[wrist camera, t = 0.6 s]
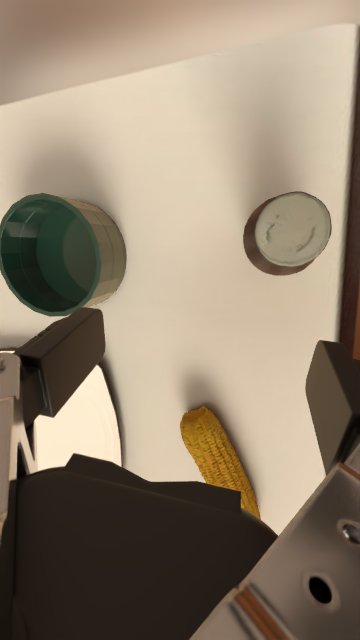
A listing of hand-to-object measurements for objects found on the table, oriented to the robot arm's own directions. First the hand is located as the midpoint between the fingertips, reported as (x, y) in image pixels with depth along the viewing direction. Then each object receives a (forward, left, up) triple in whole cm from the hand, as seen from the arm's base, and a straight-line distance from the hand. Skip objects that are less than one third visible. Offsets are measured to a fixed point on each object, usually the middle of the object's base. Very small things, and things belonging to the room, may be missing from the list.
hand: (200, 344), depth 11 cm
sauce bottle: (-5, +3, -27) cm, 28 cm away
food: (+27, +6, -27) cm, 39 cm away
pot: (+3, -22, -27) cm, 35 cm away
